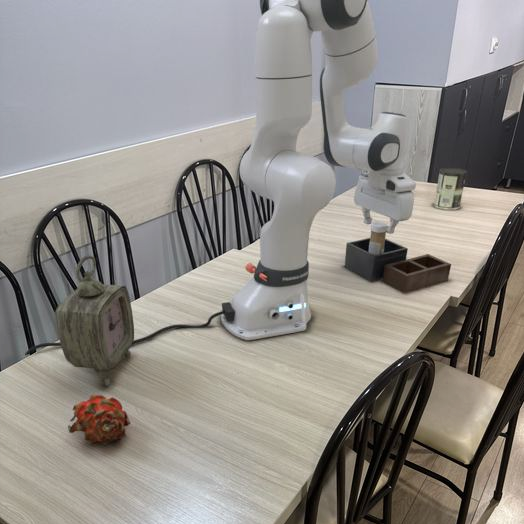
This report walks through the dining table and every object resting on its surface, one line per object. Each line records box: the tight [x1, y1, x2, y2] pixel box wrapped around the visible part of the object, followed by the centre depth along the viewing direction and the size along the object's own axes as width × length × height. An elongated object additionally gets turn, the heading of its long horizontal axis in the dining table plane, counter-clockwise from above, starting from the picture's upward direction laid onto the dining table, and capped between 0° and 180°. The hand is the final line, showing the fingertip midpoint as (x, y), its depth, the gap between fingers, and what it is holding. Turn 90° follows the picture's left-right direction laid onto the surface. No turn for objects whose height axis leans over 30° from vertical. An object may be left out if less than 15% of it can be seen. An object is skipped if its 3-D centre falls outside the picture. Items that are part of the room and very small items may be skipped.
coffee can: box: [433, 167, 468, 211], centre depth 201 cm, size 10×10×14 cm
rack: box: [382, 253, 452, 294], centre depth 142 cm, size 17×9×5 cm, turn 120°
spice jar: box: [369, 221, 388, 255], centre depth 146 cm, size 5×5×13 cm
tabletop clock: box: [54, 254, 135, 387], centre depth 99 cm, size 14×9×25 cm, turn 170°
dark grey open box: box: [343, 237, 409, 283], centre depth 148 cm, size 12×12×8 cm
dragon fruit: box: [67, 394, 132, 445], centre depth 87 cm, size 8×8×12 cm
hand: (378, 228), depth 143 cm, fingers open, 8 cm apart
